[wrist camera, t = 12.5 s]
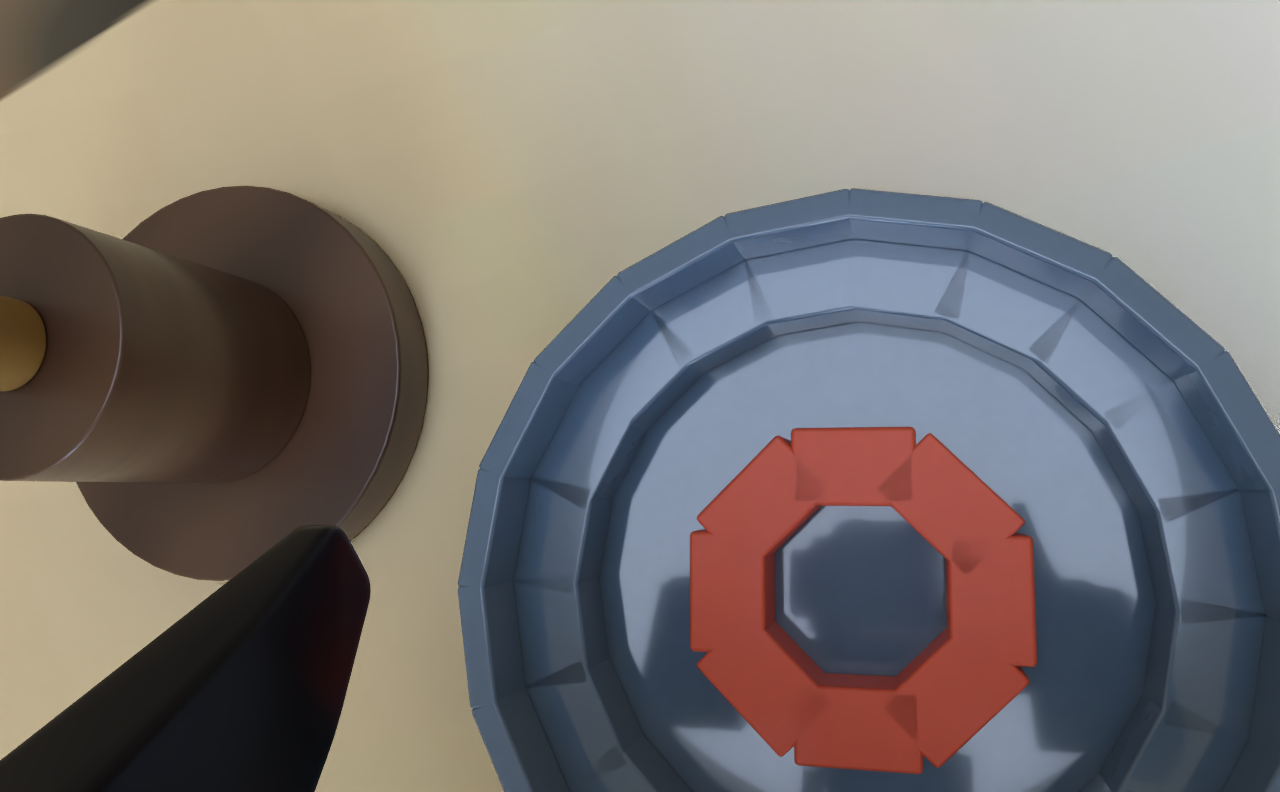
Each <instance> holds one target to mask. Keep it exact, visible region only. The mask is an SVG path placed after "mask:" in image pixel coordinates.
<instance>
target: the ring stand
mask: <svg viewBox="0 0 1280 792" xmlns="http://www.w3.org/2000/svg"><path fill="white" fill-rule="evenodd" d="M427 381H428V369H427V355H426V346H425V340H424V335H423V330H422V325H421V322H420V319H419V316H418V313H417V309H416V306H415V303H414V300H413V298H412V296H411V294H410V292H409V290H408V288H407V286H406V284H405V282H404V280H403V278H402V276H401V275H400V273H399V272H398V270H397V269H396V267H395V266H394V264H393V263H392V261H391V260H390V258H389V257H388V256H387V255H386V254H385V253H384V251H383V250H382V249H381V248H380V247H379V246H378V245H377V244H376V242H375V241H373V240H372V239H371V238H370V237H369V236H367V235H366V234H365V233H364V232H363V231H362V230H360V229H359V228H358V227H356V226H355V225H353V224H352V223H350V222H348V221H347V220H345V219H343V218H342V217H340V216H338V215H336V214H334V213H332V212H330V211H328V210H326V209H324V208H322V207H320V206H318V205H316V204H314V203H312V202H309V201H307V200H305V199H302V198H300V197H298V196H295V195H293V194H290V193H287V192H283V191H279V190H275V189H271V188H265V187H255V186H233V187H222V188H217V189H212V190H207V191H202V192H199V193H196V194H193V195H190V196H188V197H185V198H182V199H180V200H178V201H176V202H174V203H172V204H170V205H168V206H166V207H164V208H162V209H160V210H159V211H157V212H156V213H154V214H153V215H151V216H150V217H148V218H147V219H146V220H144V221H143V222H141V223H140V224H139V225H138V226H137V227H136V228H134V229H133V230H132V231H131V232H130V233H129V234H128V235H127V236H125V237H124V238H123V239H119V238H116V237H113V236H110V235H107V234H103V233H100V232H97V231H94V230H91V229H88V228H85V227H82V226H78V225H75V224H72V223H69V222H66V221H63V220H60V219H56V218H53V217H49V216H46V215H37V214H19V215H13V216H8V217H3V218H0V481H63V482H76V483H77V485H78V487H79V489H80V491H81V493H82V495H83V496H84V498H85V500H86V502H87V504H88V506H89V507H90V509H91V510H92V511H93V513H94V514H95V516H96V517H97V518H98V520H99V521H100V523H101V524H102V525H103V526H104V527H105V528H106V529H107V530H108V531H109V532H110V534H111V535H112V536H113V537H114V538H115V539H116V540H117V541H118V542H120V543H121V544H122V545H123V546H125V547H126V548H127V549H128V550H130V551H131V552H132V553H133V554H135V555H136V556H138V557H140V558H141V559H143V560H145V561H147V562H148V563H150V564H152V565H153V566H155V567H158V568H160V569H163V570H165V571H168V572H170V573H173V574H176V575H180V576H184V577H189V578H193V579H198V580H213V581H225V580H231V579H232V578H233V577H235V576H236V575H237V574H238V573H240V572H241V571H242V570H244V569H245V568H246V567H247V566H249V565H250V564H251V563H252V562H254V561H255V560H256V559H258V558H259V557H260V556H261V555H263V554H264V553H265V552H266V551H268V550H269V549H270V548H272V547H273V546H274V545H275V544H277V543H278V542H279V541H280V540H282V539H283V538H284V537H286V536H287V535H288V534H289V533H291V532H292V531H293V530H295V529H296V528H298V527H300V526H304V525H335V526H338V527H339V528H341V529H342V530H343V531H344V532H345V533H346V535H347V537H348V538H349V540H351V539H353V538H354V537H355V536H357V535H358V534H359V533H360V532H361V531H362V530H363V529H364V528H365V527H366V526H367V525H368V524H369V523H370V522H371V521H372V520H373V519H374V518H375V517H376V516H377V514H378V513H379V512H380V510H381V509H382V508H383V506H384V505H385V504H386V502H387V501H388V500H389V498H390V497H391V496H392V494H393V493H394V491H395V489H396V487H397V486H398V484H399V482H400V481H401V479H402V477H403V475H404V474H405V471H406V469H407V467H408V464H409V462H410V460H411V458H412V455H413V453H414V451H415V448H416V444H417V441H418V437H419V434H420V431H421V427H422V423H423V417H424V411H425V406H426V400H427Z"/></svg>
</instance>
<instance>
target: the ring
mask: <svg viewBox="0 0 1280 792" xmlns="http://www.w3.org/2000/svg"><path fill="white" fill-rule="evenodd" d="M821 506H892V507H893V508H894V509H895V510H896V511H897V512H898V513H899V514H900V515H901V516H902V517H903V518H904V519H905V520H906V521H907V522H908V523H909V524H910V525H911V526H912V527H913V528H914V529H915V530H916V531H917V532H919V533H920V534H921V535H922V536H923V537H924V538H925V539H926V540H927V541H928V542H929V543H930V544H931V545H932V546H933V547H934V548H935V549H936V550H937V551H938V552H939V553H940V554H941V555H942V556H943V557H944V558H945V575H946V615H947V628H946V629H945V630H944V631H943V632H942V633H941V634H940V635H939V636H938V637H937V638H935V639H934V640H933V641H932V642H931V643H930V644H929V645H928V646H927V647H926V648H925V649H924V650H923V651H922V652H921V653H920V654H919V655H918V656H917V657H916V658H915V659H914V660H913V661H912V662H910V663H909V664H908V665H907V666H906V667H905V668H904V669H903V670H902V671H901V672H900V673H899V674H898V675H897V676H876V675H856V674H836V673H824V672H823V671H822V670H821V669H820V667H819V666H818V665H817V664H816V663H815V662H814V661H813V660H812V659H811V658H810V657H809V656H808V655H807V654H806V653H805V652H804V651H803V650H802V649H801V648H800V647H799V646H798V645H797V643H796V642H795V641H794V640H793V639H792V638H791V637H790V636H789V635H788V634H787V633H786V632H785V631H784V630H783V629H782V628H781V627H780V626H779V625H778V624H777V623H776V622H775V564H774V553H775V552H776V551H777V550H778V549H779V548H780V547H781V546H782V545H783V544H784V543H785V542H786V541H787V540H788V539H789V538H790V537H791V536H792V535H793V534H794V533H795V532H796V531H797V530H798V529H799V528H800V527H801V526H802V525H803V524H804V523H805V522H806V521H807V520H808V519H809V518H810V517H811V516H812V515H813V514H814V513H815V512H816V511H817V510H818V509H819V508H820V507H821ZM697 520H698V522H699V523H700V524H701V525H702V526H703V527H704V528H705V529H703V530H697V531H693V532H691V534H690V648H691V650H692V651H694V652H708V653H707V654H706V655H705V656H704V657H703V658H702V659H701V660H700V661H699V662H698V663H697V668H698V669H699V670H700V671H701V672H702V673H703V674H704V675H705V676H706V678H707V679H708V680H709V681H710V682H711V683H712V684H713V685H714V686H715V687H716V688H717V689H718V691H719V692H720V693H721V694H722V695H723V696H724V697H725V698H726V699H727V700H728V701H729V703H730V704H731V705H732V706H733V707H734V708H735V709H736V710H737V711H738V712H739V713H740V715H741V716H742V717H743V718H744V719H745V720H746V721H747V722H748V723H749V724H750V725H751V727H752V728H753V729H754V730H755V731H756V732H757V733H758V734H759V735H760V736H761V737H762V739H763V740H764V741H765V742H766V743H767V744H768V745H769V746H770V747H771V748H772V749H773V750H774V752H775V753H776V754H777V755H778V756H780V757H782V756H784V755H785V754H786V753H787V752H788V751H789V750H790V749H791V748H792V747H793V746H794V761H795V763H796V764H797V765H799V766H813V767H827V768H840V769H854V770H867V771H881V772H894V773H908V774H921V773H922V772H923V755H924V756H925V757H926V758H927V759H928V760H929V761H930V762H931V763H932V764H933V765H934V767H936V768H939V767H941V766H942V765H943V764H944V763H946V762H947V761H948V760H949V759H950V758H951V757H952V756H953V755H954V754H955V753H956V752H957V751H958V750H959V749H960V748H962V747H963V746H964V745H965V744H966V743H967V742H968V741H969V740H970V739H971V738H972V737H973V736H974V735H975V734H976V733H978V732H979V731H980V730H981V729H982V728H983V727H984V726H985V725H986V724H987V723H988V722H989V721H990V720H991V719H992V718H993V717H995V716H996V715H997V714H998V713H999V712H1000V711H1001V710H1002V709H1003V708H1004V707H1005V706H1006V705H1007V704H1008V703H1009V702H1011V701H1012V700H1013V699H1014V698H1015V697H1016V696H1017V695H1018V694H1019V693H1020V692H1021V691H1022V690H1023V689H1024V688H1025V687H1027V686H1028V685H1029V682H1030V681H1029V678H1028V677H1027V675H1026V674H1025V672H1024V671H1023V669H1022V667H1034V666H1036V665H1037V639H1036V609H1035V579H1034V550H1033V539H1032V537H1030V536H1028V535H1025V534H1022V533H1015V532H1016V531H1017V530H1018V529H1019V528H1021V527H1022V526H1023V525H1024V523H1025V520H1024V519H1023V518H1022V517H1021V516H1020V515H1019V514H1018V513H1017V512H1016V511H1015V510H1013V509H1012V508H1011V507H1010V506H1009V505H1008V504H1007V503H1006V502H1005V501H1004V500H1003V499H1002V498H1000V497H999V496H998V495H997V494H996V493H995V492H994V491H993V490H992V489H991V488H990V487H989V486H988V485H986V484H985V483H984V482H983V481H982V480H981V479H980V478H979V477H978V476H977V475H976V474H975V473H974V472H972V471H971V470H970V469H969V468H968V467H967V466H966V465H965V464H964V463H963V462H962V461H961V460H959V459H958V458H957V457H956V456H955V455H954V454H953V453H952V452H951V451H950V450H949V449H948V448H947V447H945V446H944V445H943V444H942V443H941V442H940V441H939V440H938V439H937V438H936V437H935V436H934V435H933V434H931V433H929V434H927V435H926V436H925V437H924V438H923V439H922V440H921V441H920V442H919V443H918V444H917V445H916V431H915V429H914V428H913V427H838V428H795V429H792V431H791V442H790V441H789V440H788V439H785V438H783V437H781V436H775V437H774V438H773V439H772V440H771V441H770V442H769V443H768V444H767V445H766V446H765V447H764V448H763V449H762V450H761V451H760V452H759V453H758V454H757V455H756V456H755V457H754V458H753V459H752V461H751V462H750V463H749V464H748V465H747V466H746V467H745V468H744V469H743V470H742V471H741V472H740V473H739V474H738V475H737V476H736V477H735V478H734V479H733V480H732V481H731V482H730V483H729V484H728V485H727V486H726V487H725V488H724V489H723V490H722V491H721V492H720V493H719V494H718V495H717V496H716V497H715V498H714V499H713V500H712V501H711V502H710V503H709V504H708V505H707V506H706V507H705V508H704V509H703V510H702V511H701V512H700V513H699V515H698V516H697Z"/></svg>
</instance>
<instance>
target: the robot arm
mask: <svg viewBox="0 0 1280 792" xmlns="http://www.w3.org/2000/svg"><path fill="white" fill-rule="evenodd" d="M369 600H370V581H369V577H368V575H367V572H366V571H365V569H364V567H363V565H362V563H361V561H360V559H359V557H358V555H357V554H356V552H355V550H354V548H353V546H352V544H351V542H350V540H349V538H348V537H347V535H346V533H345V532H344V531H343V530H342V529H341V528H339V527H338V526H335V525H304V526H300V527H298V528H296V529H295V530H293V531H292V532H291V533H289V534H288V535H287V536H286V537H284V538H283V539H282V540H280V541H279V542H278V543H277V544H275V545H274V546H273V547H272V548H270V549H269V550H268V551H266V552H265V553H264V554H263V555H261V556H260V557H259V558H258V559H256V560H255V561H254V562H252V563H251V564H250V565H249V566H247V567H246V568H245V569H244V570H242V571H241V572H240V573H238V574H237V575H236V576H235V577H233V578H232V579H231V580H230V581H228V582H227V583H226V584H224V585H223V586H222V587H221V588H219V589H218V590H217V591H216V592H214V593H213V594H212V595H210V596H209V597H208V598H207V599H205V600H204V601H203V602H202V603H200V604H199V605H198V606H196V607H195V608H194V609H193V610H191V611H190V612H189V613H188V614H186V615H185V616H184V617H182V618H181V619H180V620H179V621H177V622H176V623H175V624H174V625H172V626H171V627H170V628H168V629H167V630H166V631H165V632H163V633H162V634H161V635H160V636H158V637H157V638H156V639H154V640H153V641H152V642H151V643H149V644H148V645H147V646H146V647H144V648H143V649H142V650H140V651H139V652H138V653H137V654H135V655H134V656H133V657H132V658H130V659H129V660H128V661H126V662H125V663H124V664H123V665H121V666H120V667H119V668H118V669H116V670H115V671H114V672H112V673H111V674H110V675H109V676H107V677H106V678H105V679H104V680H102V681H101V682H100V683H98V684H97V685H96V686H95V687H93V688H92V689H91V690H90V691H88V692H87V693H86V694H84V695H83V696H82V697H81V698H79V699H78V700H77V701H76V702H74V703H73V704H72V705H70V706H69V707H68V708H67V709H65V710H64V711H63V712H61V713H60V714H59V715H58V716H56V717H55V718H54V719H53V720H51V721H50V722H49V723H47V724H46V725H45V726H44V727H42V728H41V729H40V730H39V731H37V732H36V733H35V734H33V735H32V736H31V737H30V738H28V739H27V740H26V741H25V742H23V743H22V744H21V745H19V746H18V747H17V748H16V749H14V750H13V751H12V752H11V753H9V754H8V755H7V756H5V757H4V758H3V759H2V760H0V792H314V791H315V789H316V786H317V783H318V781H319V778H320V775H321V772H322V770H323V767H324V764H325V762H326V759H327V756H328V753H329V750H330V747H331V744H332V741H333V738H334V735H335V732H336V729H337V725H338V722H339V718H340V715H341V711H342V707H343V703H344V699H345V695H346V691H347V687H348V683H349V679H350V676H351V672H352V668H353V664H354V660H355V656H356V652H357V648H358V644H359V640H360V636H361V632H362V628H363V624H364V620H365V616H366V612H367V609H368V605H369Z"/></svg>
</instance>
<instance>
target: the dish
mask: <svg viewBox="0 0 1280 792" xmlns="http://www.w3.org/2000/svg"><path fill="white" fill-rule="evenodd" d="M838 427H913V428H914V429H915V431H916V445H917V444H918V443H919V442H920V441H921V440H922V439H923V438H924V437H925V436H926V435H927V434H929V433H931V434H933V435H934V436H935V437H936V438H937V439H938V440H939V441H940V442H941V443H942V444H943V445H944V446H945V447H947V448H948V449H949V450H950V451H951V452H952V453H953V454H954V455H955V456H956V457H957V458H958V459H959V460H961V461H962V462H963V463H964V464H965V465H966V466H967V467H968V468H969V469H970V470H971V471H972V472H974V473H975V474H976V475H977V476H978V477H979V478H980V479H981V480H982V481H983V482H984V483H985V484H986V485H988V486H989V487H990V488H991V489H992V490H993V491H994V492H995V493H996V494H997V495H998V496H999V497H1000V498H1002V499H1003V500H1004V501H1005V502H1006V503H1007V504H1008V505H1009V506H1010V507H1011V508H1012V509H1013V510H1015V511H1016V512H1017V513H1018V514H1019V515H1020V516H1021V517H1022V518H1023V519H1024V520H1025V523H1024V525H1023V526H1022V527H1021V528H1019V529H1018V530H1017V531H1016V532H1015V533H1022V534H1025V535H1028V536H1030V537H1032V539H1033V550H1034V579H1035V609H1036V639H1037V665H1036V666H1034V667H1022V669H1023V671H1024V672H1025V674H1026V675H1027V677H1028V678H1029V681H1030V682H1029V685H1028V686H1027V687H1025V688H1024V689H1023V690H1022V691H1021V692H1020V693H1019V694H1018V695H1017V696H1016V697H1015V698H1014V699H1013V700H1012V701H1011V702H1009V703H1008V704H1007V705H1006V706H1005V707H1004V708H1003V709H1002V710H1001V711H1000V712H999V713H998V714H997V715H996V716H995V717H993V718H992V719H991V720H990V721H989V722H988V723H987V724H986V725H985V726H984V727H983V728H982V729H981V730H980V731H979V732H978V733H976V734H975V735H974V736H973V737H972V738H971V739H970V740H969V741H968V742H967V743H966V744H965V745H964V746H963V747H962V748H960V749H959V750H958V751H957V752H956V753H955V754H954V755H953V756H952V757H951V758H950V759H949V760H948V761H947V762H946V763H944V764H943V765H942V766H941V767H939V768H936V767H934V765H933V764H932V763H931V762H930V761H929V760H928V759H927V758H926V757H925V756H924V755H923V772H922V773H921V774H908V773H894V772H881V771H867V770H854V769H840V768H827V767H813V766H799V765H797V764H796V763H795V761H794V746H793V747H792V748H791V749H790V750H789V751H788V752H787V753H786V754H785V755H784V756H782V757H780V756H778V755H777V754H776V753H775V752H774V750H773V749H772V748H771V747H770V746H769V745H768V744H767V743H766V742H765V741H764V740H763V739H762V737H761V736H760V735H759V734H758V733H757V732H756V731H755V730H754V729H753V728H752V727H751V725H750V724H749V723H748V722H747V721H746V720H745V719H744V718H743V717H742V716H741V715H740V713H739V712H738V711H737V710H736V709H735V708H734V707H733V706H732V705H731V704H730V703H729V701H728V700H727V699H726V698H725V697H724V696H723V695H722V694H721V693H720V692H719V691H718V689H717V688H716V687H715V686H714V685H713V684H712V683H711V682H710V681H709V680H708V679H707V678H706V676H705V675H704V674H703V673H702V672H701V671H700V670H699V669H698V668H697V663H698V662H699V661H700V660H701V659H702V658H703V657H704V656H705V655H706V654H707V653H708V652H694V651H692V650H691V648H690V534H691V532H693V531H697V530H703V529H705V528H704V527H703V526H702V525H701V524H700V523H699V522H698V520H697V516H698V515H699V513H700V512H701V511H702V510H703V509H704V508H705V507H706V506H707V505H708V504H709V503H710V502H711V501H712V500H713V499H714V498H715V497H716V496H717V495H718V494H719V493H720V492H721V491H722V490H723V489H724V488H725V487H726V486H727V485H728V484H729V483H730V482H731V481H732V480H733V479H734V478H735V477H736V476H737V475H738V474H739V473H740V472H741V471H742V470H743V469H744V468H745V467H746V466H747V465H748V464H749V463H750V462H751V461H752V459H753V458H754V457H755V456H756V455H757V454H758V453H759V452H760V451H761V450H762V449H763V448H764V447H765V446H766V445H767V444H768V443H769V442H770V441H771V440H772V439H773V438H774V437H775V436H781V437H783V438H785V439H788V440H789V441H790V442H791V431H792V429H795V428H838ZM479 467H480V469H479V470H478V474H477V480H476V486H475V491H474V497H473V502H472V508H471V513H470V519H469V525H468V530H467V536H466V541H465V547H464V552H463V558H462V564H461V569H460V575H459V580H458V585H459V586H460V587H458V597H459V606H460V615H461V625H462V634H463V643H464V652H465V662H466V671H467V680H468V689H469V698H470V706H471V708H473V709H472V714H473V717H474V719H475V722H476V724H477V726H478V729H479V731H480V734H481V736H482V739H483V741H484V743H485V746H486V748H487V751H488V753H489V756H490V758H491V761H492V763H493V765H494V768H495V770H496V773H497V775H498V778H499V780H500V782H501V785H502V787H503V790H504V792H1280V435H1279V433H1278V432H1277V430H1276V428H1275V427H1274V425H1273V423H1272V422H1271V420H1270V419H1269V417H1268V415H1267V414H1266V412H1265V410H1264V409H1263V407H1262V406H1261V404H1260V402H1259V401H1258V399H1257V397H1256V396H1255V394H1254V393H1253V391H1252V389H1251V388H1250V386H1249V384H1248V383H1247V381H1246V380H1245V378H1244V376H1243V375H1242V373H1241V371H1240V370H1239V368H1238V366H1237V365H1236V363H1235V362H1234V360H1233V358H1232V357H1231V355H1230V353H1229V352H1227V351H1225V349H1224V347H1223V346H1221V345H1220V344H1219V343H1218V342H1217V341H1215V340H1214V339H1213V338H1212V337H1211V336H1210V335H1208V334H1207V333H1206V332H1205V331H1204V330H1202V329H1201V328H1200V327H1199V326H1198V325H1197V324H1195V323H1194V322H1193V321H1192V320H1191V319H1189V318H1188V317H1187V316H1186V315H1185V314H1184V313H1182V312H1181V311H1180V310H1179V309H1178V308H1176V307H1175V306H1174V305H1173V304H1172V303H1171V302H1169V301H1168V300H1167V299H1166V298H1165V297H1163V296H1162V295H1161V294H1160V293H1159V292H1157V291H1156V290H1155V289H1154V288H1153V287H1152V286H1150V285H1149V284H1148V283H1147V282H1146V281H1144V280H1143V279H1142V278H1141V277H1140V276H1139V275H1137V274H1136V273H1135V272H1134V271H1133V270H1131V269H1130V268H1129V267H1128V266H1127V265H1126V264H1124V263H1123V262H1122V261H1121V260H1120V259H1118V258H1117V257H1112V255H1111V254H1110V253H1108V252H1106V251H1104V250H1101V249H1099V248H1096V247H1094V246H1092V245H1089V244H1087V243H1084V242H1082V241H1080V240H1077V239H1075V238H1072V237H1070V236H1068V235H1065V234H1063V233H1060V232H1058V231H1056V230H1053V229H1051V228H1048V227H1046V226H1044V225H1041V224H1039V223H1036V222H1034V221H1031V220H1029V219H1027V218H1024V217H1022V216H1019V215H1017V214H1015V213H1012V212H1010V211H1007V210H1005V209H1003V208H1000V207H998V206H995V205H993V204H991V203H988V202H984V203H982V201H980V200H973V199H962V198H951V197H940V196H930V195H919V194H908V193H898V192H887V191H876V190H865V189H855V188H853V189H850V191H849V190H848V189H842V190H837V191H833V192H828V193H823V194H818V195H814V196H809V197H804V198H799V199H795V200H790V201H785V202H780V203H776V204H771V205H766V206H761V207H757V208H752V209H747V210H742V211H737V212H733V213H728V214H726V215H725V217H724V216H720V217H718V218H716V219H715V220H713V221H711V222H709V223H707V224H706V225H704V226H702V227H700V228H698V229H697V230H695V231H693V232H691V233H689V234H688V235H686V236H684V237H682V238H680V239H679V240H677V241H675V242H673V243H671V244H670V245H668V246H666V247H664V248H662V249H661V250H659V251H657V252H655V253H653V254H652V255H650V256H648V257H646V258H644V259H643V260H641V261H639V262H637V263H635V264H634V265H632V266H630V267H628V268H626V269H625V270H623V271H621V272H619V273H618V274H617V276H614V277H613V278H612V279H611V280H610V281H609V282H608V283H607V284H606V285H605V286H604V287H603V288H602V289H601V290H600V291H599V292H598V293H597V294H596V296H595V297H594V298H593V299H592V300H591V301H590V302H589V303H588V304H587V305H586V306H585V307H584V308H583V309H582V310H581V311H580V312H579V313H578V314H577V315H576V316H575V317H574V318H573V320H572V321H571V322H570V323H569V324H568V325H567V326H566V327H565V328H564V329H563V330H562V331H561V332H560V333H559V334H558V335H557V336H556V337H555V338H554V339H553V340H552V341H551V342H550V343H549V345H548V346H547V347H546V348H545V349H544V350H543V351H542V352H541V353H540V354H539V355H538V356H537V357H536V358H535V360H534V362H532V363H531V365H530V367H529V369H528V371H527V373H526V375H525V377H524V379H523V380H522V382H521V384H520V386H519V388H518V390H517V392H516V394H515V396H514V398H513V400H512V402H511V404H510V406H509V408H508V410H507V412H506V414H505V416H504V418H503V420H502V422H501V424H500V426H499V428H498V430H497V432H496V434H495V436H494V438H493V440H492V442H491V444H490V446H489V448H488V450H487V452H486V454H485V456H484V458H483V460H482V461H481V463H480V466H479ZM774 564H775V622H776V623H777V624H778V625H779V626H780V627H781V628H782V629H783V630H784V631H785V632H786V633H787V634H788V635H789V636H790V637H791V638H792V639H793V640H794V641H795V642H796V643H797V645H798V646H799V647H800V648H801V649H802V650H803V651H804V652H805V653H806V654H807V655H808V656H809V657H810V658H811V659H812V660H813V661H814V662H815V663H816V664H817V665H818V666H819V667H820V669H821V670H822V671H823V672H824V673H836V674H856V675H876V676H897V675H898V674H899V673H900V672H901V671H902V670H903V669H904V668H905V667H906V666H907V665H908V664H909V663H910V662H912V661H913V660H914V659H915V658H916V657H917V656H918V655H919V654H920V653H921V652H922V651H923V650H924V649H925V648H926V647H927V646H928V645H929V644H930V643H931V642H932V641H933V640H934V639H935V638H937V637H938V636H939V635H940V634H941V633H942V632H943V631H944V630H945V629H946V628H947V615H946V575H945V558H944V557H943V556H942V555H941V554H940V553H939V552H938V551H937V550H936V549H935V548H934V547H933V546H932V545H931V544H930V543H929V542H928V541H927V540H926V539H925V538H924V537H923V536H922V535H921V534H920V533H919V532H917V531H916V530H915V529H914V528H913V527H912V526H911V525H910V524H909V523H908V522H907V521H906V520H905V519H904V518H903V517H902V516H901V515H900V514H899V513H898V512H897V511H896V510H895V509H894V508H893V507H892V506H821V507H820V508H819V509H818V510H817V511H816V512H815V513H814V514H813V515H812V516H811V517H810V518H809V519H808V520H807V521H806V522H805V523H804V524H803V525H802V526H801V527H800V528H799V529H798V530H797V531H796V532H795V533H794V534H793V535H792V536H791V537H790V538H789V539H788V540H787V541H786V542H785V543H784V544H783V545H782V546H781V547H780V548H779V549H778V550H777V551H776V552H775V553H774Z"/></svg>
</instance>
